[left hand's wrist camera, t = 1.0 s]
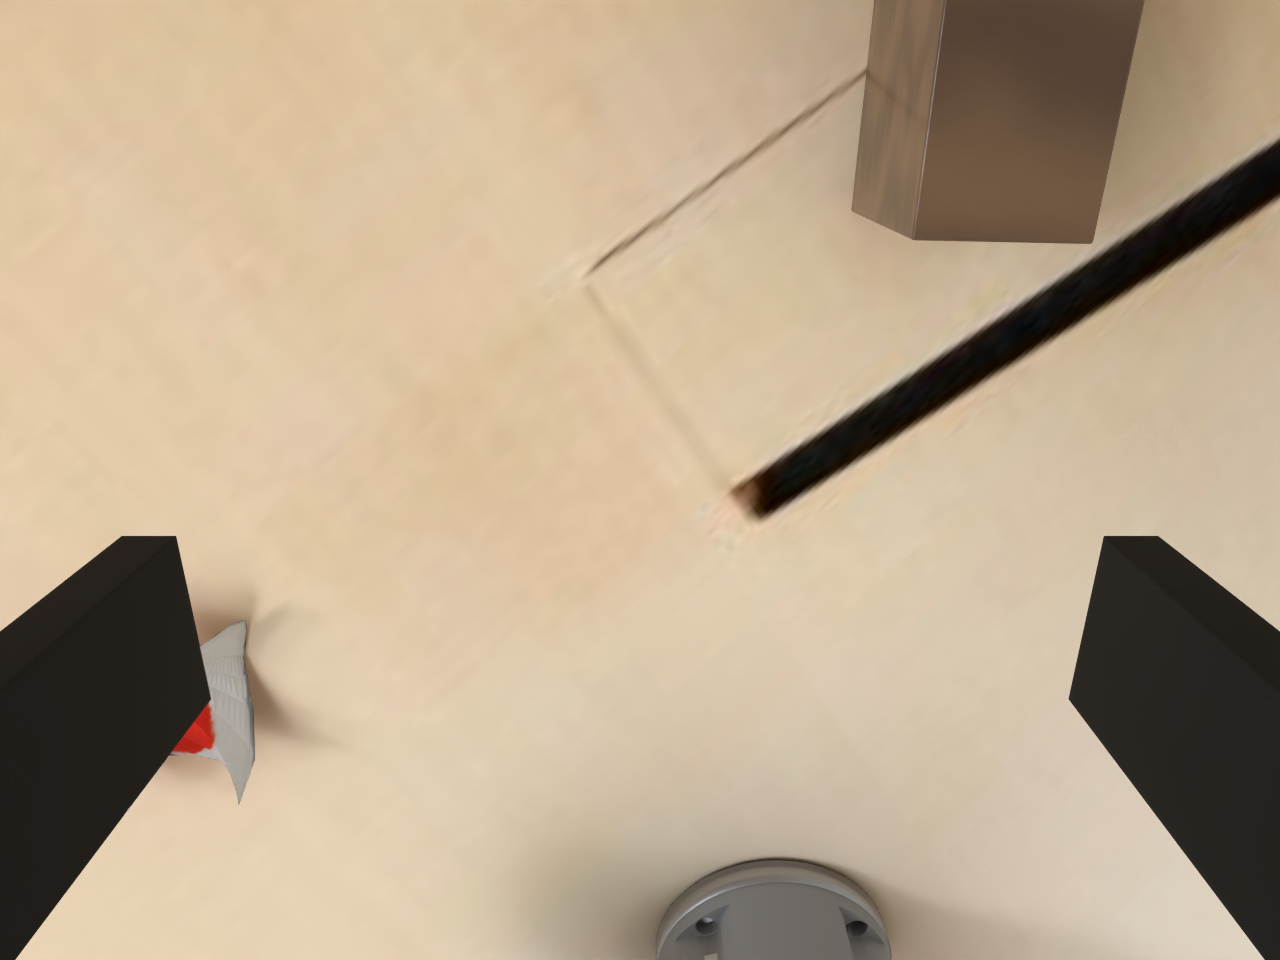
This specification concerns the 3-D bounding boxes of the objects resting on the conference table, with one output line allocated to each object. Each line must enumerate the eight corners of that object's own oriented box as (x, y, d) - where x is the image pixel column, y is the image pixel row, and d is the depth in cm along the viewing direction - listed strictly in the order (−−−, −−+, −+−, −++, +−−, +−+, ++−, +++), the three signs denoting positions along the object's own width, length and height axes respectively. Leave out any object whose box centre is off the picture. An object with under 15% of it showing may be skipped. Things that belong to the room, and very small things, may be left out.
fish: (-81, 713, 46) (-102, 853, 38) (183, 531, 49) (212, 627, 42) (76, 807, 53) (85, 941, 45) (299, 641, 56) (341, 740, 48)
